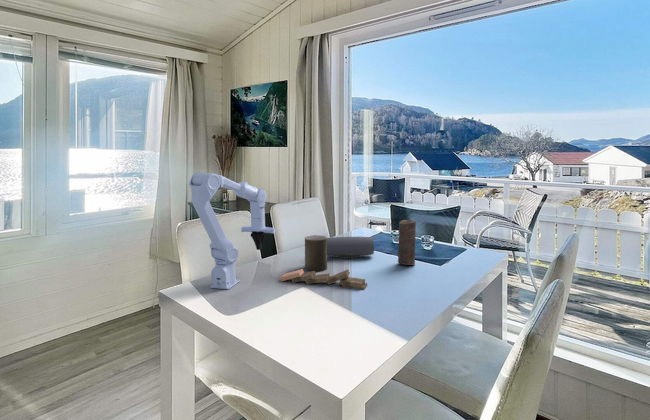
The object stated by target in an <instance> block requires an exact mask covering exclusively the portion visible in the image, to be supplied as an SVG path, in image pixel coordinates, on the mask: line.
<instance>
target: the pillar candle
mask: <svg viewBox="0 0 650 420" xmlns="http://www.w3.org/2000/svg"><path fill="white" fill-rule="evenodd" d="M327 238H328V237H327V236H325V235H317V234H315V235H309V236H304V269H305V271H306V270H307V271H309V272H312V271H315V272H322V271H323V272H324V271H326V270H327V269H328V256H327Z"/></svg>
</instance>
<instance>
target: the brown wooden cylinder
mask: <svg viewBox="0 0 650 420" xmlns="http://www.w3.org/2000/svg"><path fill="white" fill-rule="evenodd" d="M416 223H417V221H416V220H413V219H408V220H407V219H402V220H400V221H399V223H398V226H399V227H398V248H397V251H398V252H397V253H398V254H397V256H398V257H397V263H398V264H400V265H403V266H410V265H412V266H414V265H416V228H417V224H416Z"/></svg>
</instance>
